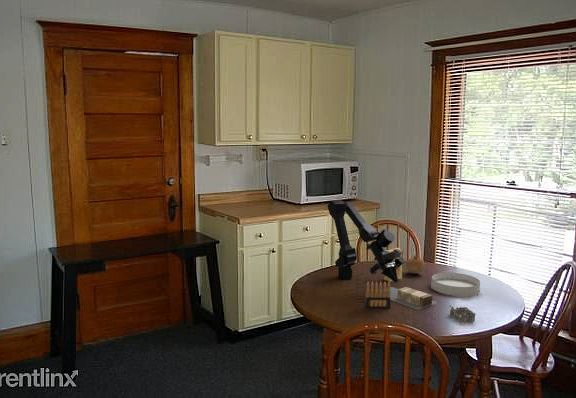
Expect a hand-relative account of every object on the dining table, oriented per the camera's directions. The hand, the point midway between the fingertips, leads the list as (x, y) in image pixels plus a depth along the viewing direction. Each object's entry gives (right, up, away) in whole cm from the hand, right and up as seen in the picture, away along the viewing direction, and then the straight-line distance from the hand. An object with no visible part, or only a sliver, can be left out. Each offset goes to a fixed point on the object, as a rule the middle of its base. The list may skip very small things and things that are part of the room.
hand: (397, 282), depth 237 cm
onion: (+16, -1, +34) cm, 37 cm away
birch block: (+2, -4, -2) cm, 5 cm away
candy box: (+3, -3, +24) cm, 24 cm away
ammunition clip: (-11, -9, -14) cm, 20 cm away
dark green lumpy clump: (+22, -11, -24) cm, 34 cm away
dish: (+30, -6, +11) cm, 32 cm away
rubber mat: (+3, -7, -2) cm, 8 cm away
